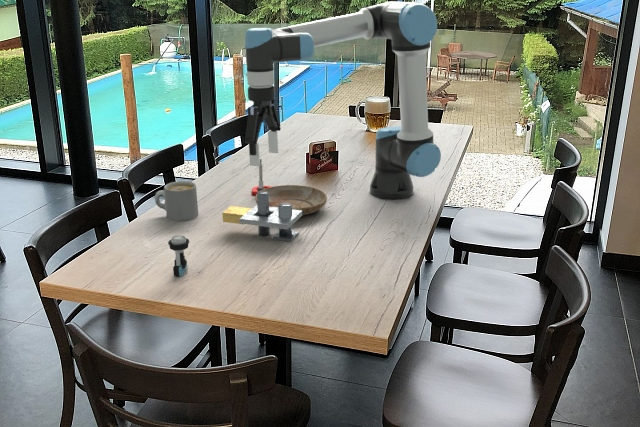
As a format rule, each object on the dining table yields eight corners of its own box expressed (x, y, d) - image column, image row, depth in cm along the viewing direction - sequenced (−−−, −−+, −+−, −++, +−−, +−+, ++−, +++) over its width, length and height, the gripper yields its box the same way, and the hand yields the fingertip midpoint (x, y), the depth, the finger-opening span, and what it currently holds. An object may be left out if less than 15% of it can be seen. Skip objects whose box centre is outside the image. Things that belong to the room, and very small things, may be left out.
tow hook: (255, 188, 248) (248, 195, 239) (254, 153, 244) (247, 159, 235) (278, 189, 247) (272, 196, 238) (277, 154, 243) (272, 160, 234)
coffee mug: (203, 211, 224) (201, 182, 221) (189, 222, 216) (186, 192, 212) (167, 207, 228) (164, 179, 225) (151, 218, 219) (148, 188, 216)
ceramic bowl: (273, 228, 211) (273, 212, 209) (244, 205, 230) (244, 190, 229) (339, 215, 221) (339, 200, 219) (306, 194, 240) (306, 180, 239)
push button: (177, 265, 186) (174, 231, 182) (196, 267, 185) (193, 232, 181) (168, 276, 179) (164, 241, 176) (187, 278, 179) (184, 242, 175)
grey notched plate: (302, 230, 208) (301, 199, 205) (287, 245, 198) (286, 213, 194) (236, 222, 215) (235, 192, 212) (219, 236, 205) (217, 204, 201)
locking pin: (271, 232, 207) (270, 191, 203) (267, 236, 204) (265, 195, 200) (261, 231, 208) (259, 190, 204) (256, 235, 205) (255, 194, 201)
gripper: (266, 77, 204) (269, 146, 212) (229, 93, 182) (234, 170, 190) (289, 78, 202) (292, 148, 209) (255, 94, 180) (259, 172, 187)
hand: (264, 159), depth 199 cm, fingers open, 13 cm apart
